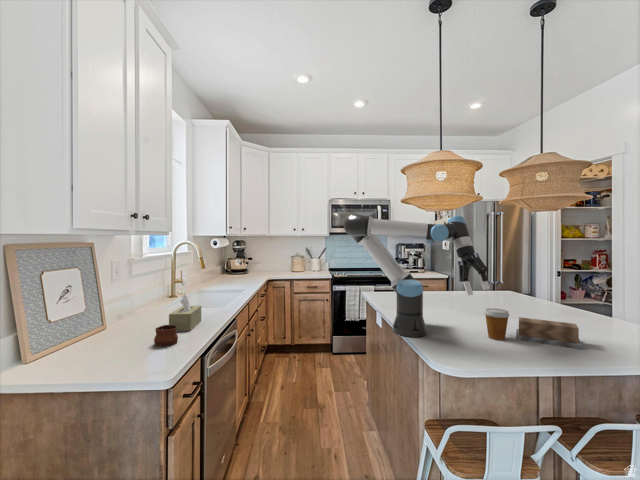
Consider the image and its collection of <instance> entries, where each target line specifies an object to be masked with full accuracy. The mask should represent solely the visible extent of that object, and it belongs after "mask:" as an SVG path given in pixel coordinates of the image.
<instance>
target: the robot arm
mask: <svg viewBox="0 0 640 480" xmlns="http://www.w3.org/2000/svg"><path fill="white" fill-rule="evenodd" d="M343 229H344V232H345V233H346V234H347V235H348V236H350V237H352V238H353V239H354V241H355V242H356V244H357V245H361V246H362V247H363V248H364V249H365V250H366V251H367V253H368V254H369V255H370V256H371V257H372V259H373V260H374V262H375V263H376V265H378V267H379V269H380V270H381V271H382V272H383V273H384V274H385V276H386V277H387V279H388V280H389V281H390V288H391V289H392V290H393V291H394V292H395V294H396V313H395V314H396V316H395V318H394V321H393V324H392V332H393V333H394V334H396V335H398V336H401V337H409V338H411V337H412V338H419V337H420V336H421V337H425V336H427V334H428V328H427V325H426V322H425V319H424V296H423V295H424V287H423V286H424V285H423V283H422V282H421V281H419V280H417V279H415V278H414V277H413V275H412V274H411V273H410V272H408V271H405V270H404V268H403V267H401V265H400V264H399V263H398V261H397V260H396V259H395V258H394V256H393V255H392V254H391V252H390V251H389V250H388V249H387V247H386V246H385V245H384V244H383V242H382V241H381V240H380V239H379V237H378V236H384V237H393V238H404V239H412V240H413V239H414V240H425V241H426V243H427V244H431V243H432V244H433V243H434V244H435V243H436V242H437V243H438V242H440V243H441V242H444V241H446V240H450V239H452V241H453V244H454V248H455V249H456V250H455V252H456V254H457V257H458V258H460V259H461V260H459V261H457V264H458V273H459V275H458V276H459V280H458V281H459V282H462V284H463V286H464V289H465V293H466V296H473V295H474V293H473V289H472V288H473V287H472V286H471V282H470V280H469V274H470V269H471V267H472V268H473V269H474V270H475V271H476V272H477V273H478V274H477V275H478V278H479V281H480V284H481V287H482V290H484V291H485V290H490V289H491V287H490V284H489V281H488V277H487V272H488V271H489V269H488V267H487V266H486V264H485V263H484V262H483V261H482V259H481V257H480V256H479V253H478V252H476V251H475V247H474V246H473V242H472V239H471V236H470V233H469V229H468V226H467V223H466V220H465V218H464V216H462V215H454V216H452V217H449V218H448V219H447V223H443V224H442V223H437V224H434V223H427V222H426V223H425V222H414V221H402V220H391V219H380V218H373V216H370V215H363V214H359V213H351V214H349V215H347V216H346V217H345V219H344V222H343Z"/></svg>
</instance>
